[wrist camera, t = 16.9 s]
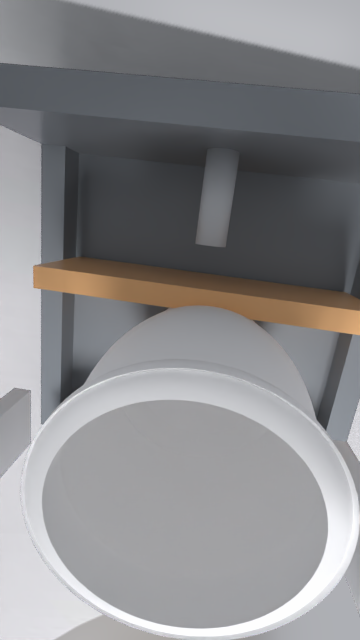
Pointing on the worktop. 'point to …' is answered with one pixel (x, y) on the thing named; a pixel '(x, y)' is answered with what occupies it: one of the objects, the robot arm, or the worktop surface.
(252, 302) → the plate
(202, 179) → the tray
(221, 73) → the worktop surface
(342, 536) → the jar
